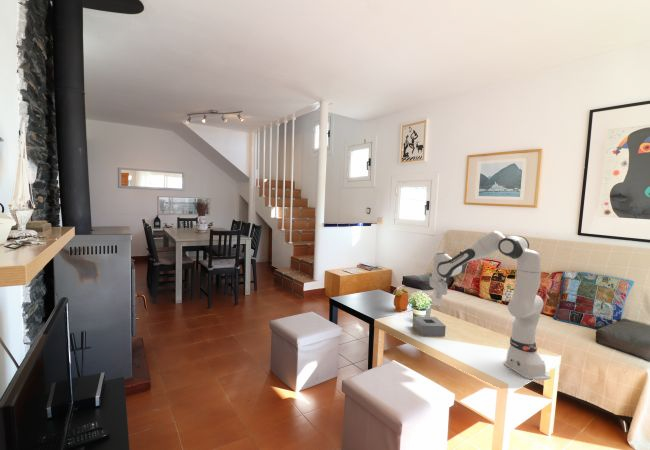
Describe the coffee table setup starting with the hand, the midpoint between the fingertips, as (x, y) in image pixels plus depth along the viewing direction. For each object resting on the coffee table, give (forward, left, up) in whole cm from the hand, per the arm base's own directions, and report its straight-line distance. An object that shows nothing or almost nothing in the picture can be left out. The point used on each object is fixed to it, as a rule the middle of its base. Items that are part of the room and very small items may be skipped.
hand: (437, 297), depth 218 cm
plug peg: (0, 0, -5) cm, 5 cm away
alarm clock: (+43, +9, -25) cm, 51 cm away
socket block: (+2, +3, -25) cm, 25 cm away
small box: (+21, -1, -25) cm, 33 cm away
